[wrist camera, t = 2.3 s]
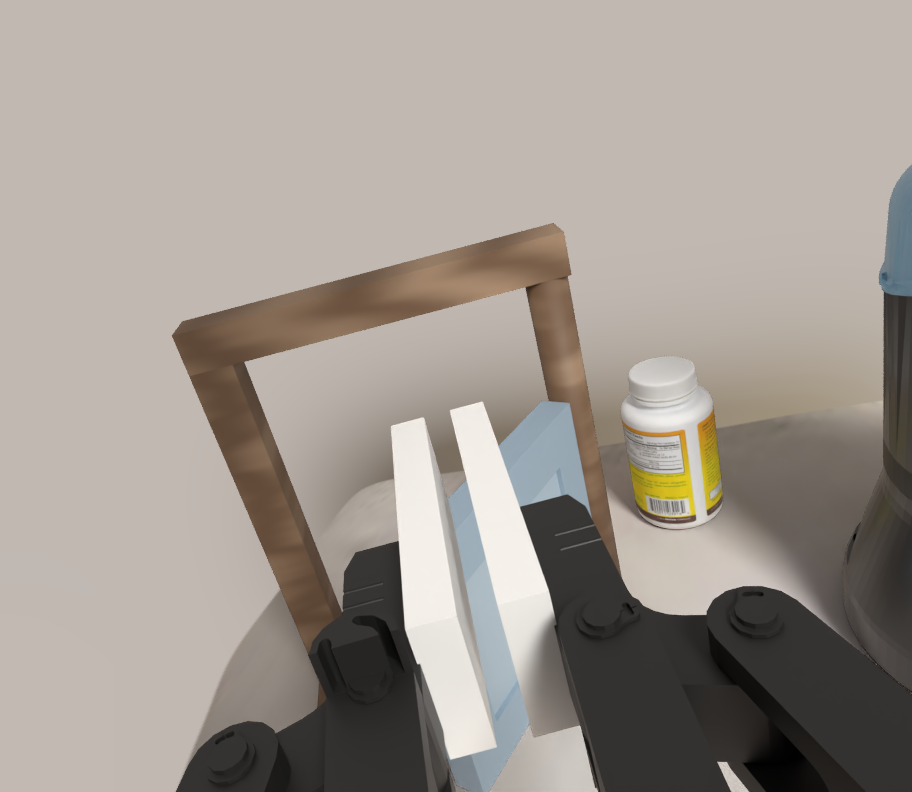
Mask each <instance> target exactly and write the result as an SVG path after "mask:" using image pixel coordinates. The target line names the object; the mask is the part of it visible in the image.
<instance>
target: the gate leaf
mask: <svg viewBox="0 0 912 792" xmlns="http://www.w3.org/2000/svg"><path fill="white" fill-rule="evenodd" d="M498 447H499V450H500V452H501V455H502V458H503V461H504V464H505V467H506V470H507V472H508V475H509V478H510V481H511V484H512V487H513V490H514V492H515V495H516V498H517V501H518V504H519V507H521V506H525V505H529V504H532V503H536V502H540V501H544V500H547V499H551V498H555V497H559V496H562V495H566V494H568V495H570V496H571V497H573V498H574V499H576V500H577V501H579V502H580V503H582V504H583V505H585V506H586V508H587V510H588V512H589V514H590V516H591V512H590V507H589V502H588V496H587V491H586V486H585V481H584V476H583V471H582V465H581V460H580V455H579V450H578V445H577V439H576V434H575V429H574V424H573V419H572V413H571V408H570V403H565V402H551V401H541V403H539V404H538V405H537V407H536V408H535V409H534V410H533V411H532V412H531V413H530V414H529V415H528V416H527V417H526V418H525V419H524V420H523V421H522V422H521V423H520V424H519V425H518V426H517V427H516V428H515V430H514V431H513V432H512V433H511V434H510V435H509V436H508V437H507V438H506V439H505V440H504V441H503V442H502V443H501V444H500V445H499V446H498ZM448 502H449V506H450V509H451V513H452V516H453V521H454V526H455V531H456V537H457V542H458V547H459V552H460V557H461V562H462V568H463V573H464V578H465V583H466V588H467V594H468V599H469V604H470V609H471V614H472V619H473V625H474V630H475V635H476V640H477V645H478V650H479V656H480V661H481V666H482V671H483V676H484V682H485V687H486V692H487V697H488V702H489V707H490V713H491V718H492V723H493V728H494V733H495V738H496V744H497V747H496V748H492V749H489V750H485V751H481V752H477V753H474V754H470V755H466V756H463V757H459V758H455V759H451V760H450V757H449V754H448V751H447V748H446V745H445V749H446V756H447V759H448V762H449V765H450V768H451V771H452V774H453V776H454V779H455V782H456V785H458V786H460V787H462V788H465V789H467V790H469V791H471V792H489V791H490V789H491V787H492V786H493V784H494V782H495V781H496V779H497V777H498V776H499V774H500V772H501V771H502V769H503V767H504V766H505V764H506V762H507V761H508V759H509V757H510V756H511V754H512V752H513V751H514V749H515V747H516V746H517V744H518V742H519V741H520V739H521V737H522V736H523V734H524V732H525V730H526V729H527V727H528V725H529V724H530V722H529V719H528V715H527V712H526V708H525V704H524V701H523V697H522V693H521V690H520V686H519V682H518V679H517V675H516V671H515V668H514V664H513V661H512V657H511V653H510V650H509V646H508V642H507V639H506V635H505V631H504V628H503V624H502V620H501V617H500V613H499V610H498V606H497V602H496V598H495V594H494V590H493V586H492V581H491V577H490V573H489V569H488V565H487V561H486V557H485V553H484V549H483V545H482V541H481V536H480V532H479V528H478V524H477V520H476V516H475V512H474V508H473V504H472V500H471V495H470V491H469V487H468V483H467V480H466V481H465V482H464V483H463V484H462V485H461V486H460V487H459V488H458V489H457V490H456V491H455V492H454V493H453V494H452V496H451V497H450V498H449V499H448ZM591 518H592V517H591Z"/></svg>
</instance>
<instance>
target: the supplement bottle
mask: <svg viewBox="0 0 912 792" xmlns="http://www.w3.org/2000/svg"><path fill="white" fill-rule="evenodd" d="M628 380H629V391H630V394H629V395H628V396H627V397H626V398H625V399H624V401H623V403H622V405H621V418H622V424H623V430H624V436H625V441H626V447H627V453H628V459H629V465H630V471H631V477H632V483H633V488H634V495H635V501H636V505H637V509H638V511H639V513H640V514H641V515H642V517H643V518H644V519H646V520H647V521H648V522H650V523H652V524H654V525H656V526H659V527H663V528H668V529H687V528H692V527H696V526H699V525H702V524H704V523H706V522H708V521H710V520H711V519H712V518H714V517H715V516H716V515H717V514H718V512H719V511H720V509H721V507H722V504H723V490H722V481H721V472H720V463H719V454H718V445H717V435H716V426H715V416H714V407H713V400H712V397H711V395H710V393H709V392H708V391H707V390H706V389H705V388H703V387H702V386H700V385H698V380H697V378H696V372H695V366H694V364H693V363H692V362H691V361H690V360H688V359H685V358H681V357H674V356H663V357H655V358H651V359H647V360H644V361H642V362H640V363H638V364H636V365H634V366H633V367H632V368H631V369H630V371H629V373H628Z"/></svg>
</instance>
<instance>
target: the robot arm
mask: <svg viewBox="0 0 912 792" xmlns="http://www.w3.org/2000/svg"><path fill="white" fill-rule="evenodd" d="M879 284H880V285H881V286H882V290H883V291H884V420H883V469H882V472H881V474H880V477H879V479H878V482H877V484H876V486H875V489H874V491H873V494H872V496H871V498H870V501H869V503H868V506H867V508H866V511H865V513H864V516H863V519H862V521H861V522H860V524H859V525H858V526H857V527H856V529H855V531H854V533H853V535H852V537H851V539H850V541H849V543H848V545H847V548H846V552H845V557H844V563H843V592H844V606H845V611H846V615H847V618H848V621H849V623H850V625H851V628H852V630H853V632H854V633H855V635H856V637H857V639H858V640H859V642H860V643H861V644H862V646H863V647H864V648H865V650H866V651H867V652H868V654H869V655H870V656H871V657H872V658H873V659H874V660H875V661H876V662H877V663H878V664H879V665H880V666H881V667H882V668H883V669H884V670H885V671H886V672H887V673H888V674H890V675H891V676H892V677H893V678H894V679H895V680H897V681H898V682H899V683H901V684H902V685H903V686H905V687H906V688H907V689H909V690H910V691H912V165H911V166H910V167H909V168H908V169H907V170H906V171H905V172H904V173H903V174H902V176H901V177H900V179H899V180H898V182H897V183H896V185H895V187H894V189H893V192H892V195H891V199H890V203H889V212H888V224H887V236H886V249H885V261H884V263H883V265H882V267H881V270H880V273H879ZM450 413H451V418H452V422H453V426H454V430H455V434H456V438H457V442H458V446H459V450H460V454H461V459H462V463H463V467H464V471H465V475H466V479H467V483H468V487H469V491H470V495H471V500H472V504H473V508H474V512H475V516H476V520H477V524H478V528H479V532H480V536H481V541H482V545H483V549H484V553H485V557H486V561H487V565H488V569H489V573H490V577H491V581H492V586H493V590H494V594H495V598H496V602H497V606H498V610H499V613H500V617H501V620H502V624H503V628H504V631H505V635H506V639H507V642H508V646H509V650H510V653H511V657H512V661H513V664H514V668H515V671H516V675H517V679H518V682H519V686H520V690H521V693H522V697H523V701H524V704H525V708H526V712H527V715H528V719H529V722H530V726H531V730H532V733H533V737H537V736H541V735H545V734H548V733H552V732H556V731H560V730H563V729H567V728H571V727H575V726H578V725H580V726H581V729H582V733H583V737H584V742H585V746H586V750H587V754H588V759H589V763H590V767H591V772H592V776H593V780H594V784H595V788H597V790H598V792H731V791H730V789H729V786H728V784H727V782H726V780H725V778H724V776H723V773H722V771H721V769H720V767H719V765H718V763H717V761H718V762H727V763H728V765H729V766H730V768H731V770H732V771H733V772H734V773H735V775H736V776H737V777H738V778H739V779H740V781H741V782H742V783H743V784H744V786H745V787H746V788H747V789H748V791H749V792H912V694H911V693H909V692H908V691H907V690H906V689H905V688H903V687H902V686H901V685H900V684H898V683H897V682H896V681H895V680H894V679H892V678H891V677H890V676H889V675H887V674H886V673H885V672H884V671H883V670H881V669H880V668H879V667H878V666H876V665H875V664H874V663H873V662H872V661H870V660H869V659H868V658H867V657H865V656H864V655H863V654H862V653H861V652H859V651H858V650H857V649H856V648H855V647H853V646H852V645H851V644H850V643H848V642H847V641H846V640H845V639H844V638H842V637H841V636H840V635H839V634H837V633H836V632H835V631H834V630H833V629H831V628H830V627H829V626H828V625H826V624H825V623H824V622H823V621H822V620H820V619H819V618H818V617H817V616H815V615H814V614H813V613H812V612H811V611H809V610H808V609H807V608H806V607H804V606H803V605H802V604H801V603H800V602H798V601H797V600H796V599H794V598H792V597H790V596H789V595H787V594H785V593H783V592H782V591H779V590H775V589H771V588H767V587H763V586H743V587H739V588H736V589H732V590H728V591H726V592H724V593H723V594H721V595H720V596H718V597H717V598H715V599H714V600H713V601H712V603H711V605H710V607H709V608H708V610H707V615H669V614H664V613H660V612H656V611H653V610H651V609H649V608H647V607H645V606H643V605H642V604H641V603H640V601H639V600H638V599H636V598H634V597H632V596H631V594H630V593H629V591H628V590H627V588H626V586H625V584H624V582H623V580H622V578H621V576H620V574H619V572H618V570H617V568H616V566H615V564H614V562H613V560H612V558H611V556H610V554H609V552H608V550H607V548H606V546H605V544H604V542H603V540H602V539H601V536H600V534H599V532H598V530H597V528H596V526H595V525H594V522H593V520H592V518H591V516H590V514H589V512H588V510H587V508H586V506H585V505H583V504H582V503H580V502H579V501H577V500H576V499H574V498H573V497H571V496H570V495H568V494H566V495H562V496H559V497H555V498H551V499H547V500H544V501H540V502H536V503H532V504H529V505H525V506H521V507H519V504H518V501H517V498H516V495H515V492H514V490H513V487H512V484H511V481H510V478H509V475H508V472H507V470H506V467H505V464H504V461H503V458H502V455H501V452H500V450H499V447H498V444H497V441H496V438H495V435H494V432H493V430H492V427H491V424H490V421H489V418H488V415H487V412H486V409H485V407H484V404H483V401H482V402H479V403H475V404H472V405H467V406H464V407H460V408H456V409H453V410H450ZM391 435H392V448H393V464H394V478H395V492H396V507H397V521H398V535H399V541H397V542H393V543H389V544H386V545H382V546H378V547H374V548H371V549H367V550H363V551H359V552H356V553H355V554H354V556H353V558H352V560H351V561H350V563H349V565H348V567H347V568H346V570H345V572H344V589H343V592H344V595H343V612H342V616H341V617H339V618H336V619H335V620H334V621H332V622H331V623H330V624H328V625H327V626H326V627H324V628H323V629H322V630H321V631H320V633H319V634H318V635H317V637H316V638H315V639H314V640H313V642H312V645H311V648H310V651H309V655H308V656H309V658H310V660H311V663H312V665H313V667H314V670H315V672H316V674H317V677H318V679H319V681H320V684H321V686H322V688H323V691H324V693H325V695H326V700H325V701H324V702H323V703H322V704H321V705H320V706H319V707H318V708H317V709H316V710H315V711H313V712H312V713H310V714H309V715H307V716H306V717H304V718H303V719H301V720H300V721H298V722H296V723H294V724H292V725H290V726H289V727H287V728H285V729H283V730H281V731H280V732H278V733H276V734H275V731H274V730H273V729H272V728H270V727H269V726H267V725H266V724H264V723H262V722H251V721H247V722H243V723H239V724H235V725H232V726H229V727H228V728H226V729H224V730H222V731H221V732H219V733H217V734H215V735H214V736H212V737H211V738H210V739H209V740H208V741H207V742H206V743H205V744H204V745H203V746H202V747H201V748H199V750H198V751H197V753H196V754H195V756H194V757H193V759H192V760H191V762H190V763H189V765H188V767H187V769H186V771H185V773H184V775H183V778H182V780H181V782H180V784H179V786H178V788H177V791H176V792H456V790H455V787H454V784H453V781H452V779H451V776H450V773H449V770H448V766H447V757H446V749H445V745H446V748H447V751H448V754H449V757H450V760H451V759H455V758H459V757H463V756H466V755H470V754H474V753H477V752H481V751H485V750H489V749H492V748H496V747H497V744H496V738H495V733H494V728H493V723H492V718H491V713H490V707H489V702H488V697H487V692H486V687H485V682H484V676H483V671H482V666H481V661H480V656H479V650H478V645H477V640H476V635H475V630H474V625H473V619H472V614H471V609H470V604H469V599H468V594H467V588H466V583H465V578H464V573H463V568H462V562H461V557H460V552H459V547H458V542H457V537H456V531H455V526H454V521H453V516H452V513H451V509H450V506H449V502H448V499H447V495H446V492H445V488H444V485H443V482H442V478H441V475H440V471H439V468H438V464H437V461H436V457H435V454H434V450H433V447H432V443H431V440H430V436H429V433H428V430H427V426H426V423H425V420H424V417H422V418H418V419H415V420H411V421H407V422H403V423H400V424H396V425H392V426H391Z"/></svg>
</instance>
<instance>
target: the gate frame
mask: <svg viewBox="0 0 912 792" xmlns="http://www.w3.org/2000/svg"><path fill="white" fill-rule="evenodd" d="M569 275H571V270H570V264H569V258H568V253H567V247H566V242H565V236H564V232H563V231H562V230H561V229H560V228H558V227H557V226H556V225H555V224H554V223H552V224H548V225H544V226H541V227H537V228H533V229H529V230H526V231H522V232H518V233H514V234H510V235H507V236H503V237H499V238H495V239H492V240H488V241H484V242H480V243H476V244H473V245H469V246H465V247H462V248H458V249H454V250H450V251H447V252H442V253H439V254H435V255H431V256H428V257H424V258H420V259H416V260H413V261H409V262H405V263H401V264H397V265H394V266H390V267H386V268H382V269H378V270H375V271H371V272H367V273H363V274H360V275H356V276H352V277H348V278H345V279H341V280H337V281H333V282H330V283H326V284H322V285H318V286H315V287H311V288H307V289H303V290H299V291H295V292H292V293H288V294H285V295H280V296H277V297H273V298H269V299H265V300H262V301H258V302H254V303H250V304H246V305H243V306H239V307H235V308H231V309H228V310H224V311H220V312H217V313H212V314H209V315H205V316H201V317H198V318H194V319H190V320H186V321H183V322H182V323H181V324H180V325H179V327H178V328H177V329H176V331H175V332H174V334H173V335H172V337H173V339H174V342H175V344H176V346H177V349H178V351H179V353H180V356H181V358H182V360H183V363H184V365H185V367H186V370H187V372H188V374H189V376H190V379H191V381H192V384H193V386H194V388H195V390H196V393H197V395H198V398H199V400H200V402H201V404H202V407H203V409H204V412H205V414H206V416H207V419H208V421H209V423H210V426H211V428H212V430H213V433H214V435H215V437H216V440H217V442H218V444H219V447H220V449H221V451H222V453H223V456H224V458H225V460H226V463H227V465H228V468H229V470H230V472H231V475H232V477H233V479H234V482H235V484H236V486H237V489H238V491H239V493H240V496H241V498H242V500H243V503H244V505H245V507H246V510H247V512H248V514H249V517H250V519H251V521H252V523H253V526H254V528H255V531H256V533H257V535H258V538H259V540H260V542H261V545H262V547H263V549H264V551H265V554H266V556H267V559H268V561H269V563H270V566H271V568H272V570H273V573H274V575H275V577H276V580H277V582H278V584H279V587H280V589H281V591H282V594H283V596H284V598H285V601H286V603H287V605H288V608H289V610H290V612H291V615H292V617H293V619H294V622H295V624H296V626H297V629H298V631H299V633H300V636H301V638H302V640H303V643H304V645H305V647H306V650H307V652H308V654H309V651H310V648H311V645H312V642H313V640H314V639H315V638H316V637H317V635H318V634H319V633H320V631H321V630H322V629H323V628H324V627H326V626H327V625H328V624H330V623H331V622H332V621H334V620H335V619H336V618H339V617H341V616H342V611H341V609H340V606H339V604H338V601H337V598H336V596H335V593H334V591H333V588H332V586H331V583H330V581H329V578H328V575H327V573H326V570H325V568H324V565H323V563H322V560H321V558H320V555H319V552H318V550H317V547H316V545H315V542H314V540H313V537H312V535H311V532H310V529H309V527H308V524H307V522H306V519H305V517H304V514H303V512H302V509H301V506H300V504H299V501H298V499H297V496H296V494H295V491H294V489H293V486H292V483H291V481H290V478H289V476H288V473H287V471H286V468H285V465H284V463H283V461H282V458H281V455H280V453H279V450H278V448H277V445H276V443H275V440H274V437H273V435H272V432H271V430H270V427H269V425H268V422H267V419H266V417H265V414H264V412H263V409H262V407H261V404H260V402H259V399H258V396H257V394H256V391H255V389H254V386H253V384H252V381H251V379H250V376H249V373H248V371H247V368H246V366H245V363H244V362H245V361H249V360H253V359H256V358H260V357H264V356H268V355H271V354H275V353H279V352H283V351H286V350H290V349H294V348H298V347H301V346H305V345H309V344H313V343H317V342H320V341H324V340H328V339H332V338H335V337H339V336H343V335H347V334H350V333H354V332H358V331H362V330H366V329H369V328H373V327H377V326H381V325H384V324H388V323H392V322H396V321H399V320H403V319H407V318H411V317H415V316H418V315H422V314H426V313H430V312H433V311H437V310H441V309H445V308H448V307H452V306H456V305H459V304H463V303H467V302H470V301H475V300H479V299H482V298H486V297H490V296H493V295H497V294H501V293H505V292H509V291H512V290H516V289H520V288H524V287H525V288H526V292H527V297H528V302H529V307H530V312H531V316H532V321H533V326H534V331H535V336H536V341H537V346H538V350H539V356H540V360H541V365H542V370H543V375H544V380H545V385H546V390H547V395H548V399H549V401H551V402H565V403H570V408H571V413H572V419H573V424H574V429H575V434H576V439H577V445H578V450H579V455H580V460H581V465H582V471H583V476H584V481H585V486H586V491H587V496H588V502H589V507H590V512H591V517H592V520H593V522H594V525H595V526H596V528H597V530H598V532H599V534H600V536H601V539H602V540H603V542H604V544H605V546H606V548H607V550H608V552H609V554H610V556H611V558H612V560H613V562H614V564H615V566H616V568H617V570H618V572H619V574H620V576H621V571H620V566H619V560H618V555H617V549H616V543H615V538H614V532H613V527H612V521H611V516H610V510H609V504H608V499H607V493H606V488H605V482H604V476H603V471H602V465H601V460H600V454H599V449H598V443H597V437H596V432H595V426H594V421H593V415H592V410H591V404H590V399H589V393H588V387H587V382H586V376H585V371H584V365H583V359H582V354H581V348H580V343H579V337H578V332H577V326H576V321H575V315H574V309H573V304H572V298H571V293H570V287H569V281H568V276H569ZM621 578H622V577H621ZM325 700H326V695H325V693H324V691H323V688H322V686H321V684H320V682H319V695H318V707H319V706H320V705H321V704H322V703H323V702H324V701H325Z"/></svg>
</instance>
